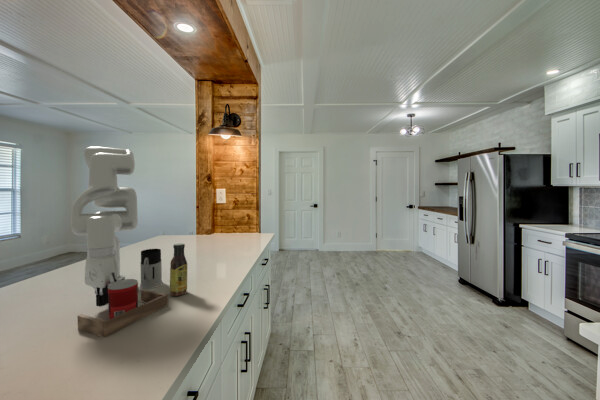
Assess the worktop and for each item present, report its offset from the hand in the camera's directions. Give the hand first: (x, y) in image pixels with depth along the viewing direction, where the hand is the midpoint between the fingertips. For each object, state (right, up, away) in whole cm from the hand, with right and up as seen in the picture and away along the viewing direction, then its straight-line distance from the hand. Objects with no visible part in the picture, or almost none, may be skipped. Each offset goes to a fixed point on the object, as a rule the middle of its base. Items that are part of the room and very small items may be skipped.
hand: (102, 304), depth 86 cm
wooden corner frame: (+11, -2, -4) cm, 12 cm away
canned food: (+10, -2, -4) cm, 11 cm away
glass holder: (+4, -1, +21) cm, 21 cm away
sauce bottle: (+19, -2, +14) cm, 24 cm away
